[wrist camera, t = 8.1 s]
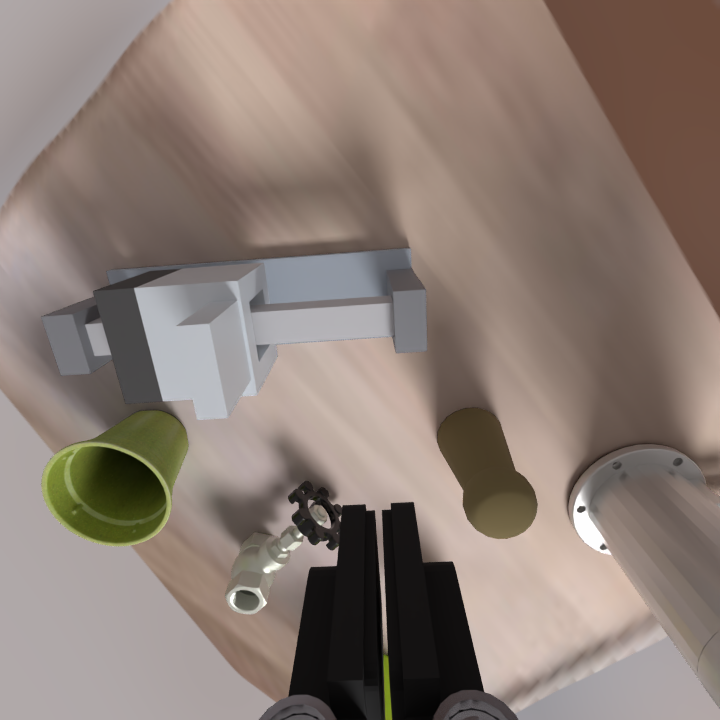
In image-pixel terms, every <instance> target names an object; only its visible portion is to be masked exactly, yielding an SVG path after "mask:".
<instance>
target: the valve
mask: <svg viewBox="0 0 720 720" xmlns="http://www.w3.org/2000/svg"><path fill="white" fill-rule="evenodd" d="M302 491H304V494H303V492H302ZM328 497H329V493H328V491H327V490H326V489H325V488H323V487H321V488H320V489H319V490H318V491H317V492H315V491H314V490H313V486H312V484H311V483H310V482H309V481H304V482H303V483H302V484H301V485H300V486H299V487H298V489H295V490H294V491H293V492H292V493H291V494H290V495H289V496H288V499H289V501H290V503H291V504H293V503H294V502H295V501H296V502H298V503H299V509H298V510H297V511H296V512H295V513H294V514H293V515H292V521H293V522H294V523H295V524H296V525H297V526H289V527H288V528H287V529H286V530H285V531H283V532H282V533H281V538H279V537H277V536H272V535H267V534H262V533H257V532H254V533H253V534H252V535H251V536H250V537H249V538H247V539H246V540H245V541H244V542H243V544H242V547H241V550H240V553H239V555H238V557H237V558H236V560H235V561H234V564H233V566H232V571H231V579H232V580H231V581H230V582H229V584H228V587H227V590H226V593H225V598H226V600H227V602H228V605H229V606H230V608H231V609H232V610H233V611H235V612H238V613H242V614H255V613H256V612H258V611H259V610H260V609H261V608H262V607H264V605H265V604H266V603H267V600H268V596H269V592H270V588H269V587H270V586H271V584H272V583H273V581H274V578H275V575H276V570H280V569H281V568H282V567H284V566H285V565H286V564H287V563H288V562H289V560H290V550H294V549H296V548H297V547H298V546H299V545H300V544H301V543H302V542H303V535H304V536H306V537H308V540H309V542H310V543H311V544H312V545H317V544H318V543H319V542H320V541H326V540H329V543H328V544H327V545H326V546H327V548H328V549H330V550H334V549H335V548H337V547H338V546H339V538H340V526H341V522H340V521H339V518H338V517H340V516H341V515H342V507H341V506H340V505H338V504H335V505H334V506H333V505H332V504H331V503H330V502H329V501H328ZM308 500H314V502H313V503H312V505H311V506H310V507H309V509H308ZM320 505H321V506H322V507H323V508H322V507H321V506H320ZM325 510H326V511H325ZM326 512H327V513H328V515H329V517H330V521H331V528H330V529H327V528H324V527H322V525H323V524H324V523H325V522H326V521H327V513H326ZM337 533H338V534H337Z"/></svg>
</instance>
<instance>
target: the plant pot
mask: <svg viewBox="0 0 720 720" xmlns="http://www.w3.org/2000/svg"><path fill="white" fill-rule="evenodd" d="M187 450H188V439H187V434H186V430H185V428H184V427H183V425H182V424H181V423H180V422H179V421H178V420H177V419H176V418H174V417H173V416H171V415H170V414H168V413H165V412H162V411H158V410H153V411H139V412H136V413H134V414H133V415H131V416H129V417H128V418H126V419H125V420H123V421H122V422H120V423H119V424H117V425H115V426H114V427H112V428H111V429H109V430H107V431H106V432H104V433H103V434H101V435H99V436H98V437H96V438H94V439H91V440H87V441H82V442H78V443H74V444H71V445H69V446H67V447H65V448H63V449H62V450H60V451H59V452H57V453H56V454H55V455H54V456H53V457H52V458H51V459H50V461H49V462H48V463H47V465H46V467H45V469H44V471H43V475H42V483H41V484H42V485H41V486H42V493H43V497H44V500H45V502H46V505H47V506H48V508H49V510H50V512H51V513H52V514H53V515H54V517H55V518H56V519H57V520H58V521H59V522H60V523H61V524H62V525H63V526H64V527H65V528H67V529H68V530H69V531H71V532H72V533H74V534H76V535H78V536H79V537H82V538H84V539H86V540H88V541H91V542H95V543H98V544H102V545H108V546H129V545H134V544H138V543H141V542H144V541H146V540H148V539H150V538H152V537H153V536H155V535H156V534H157V533H158V532H159V531H160V530H161V529H162V528H163V527H164V525H165V524H166V522H167V520H168V518H169V516H170V512H171V507H172V488H173V486H174V483H175V480H176V478H177V475H178V473H179V470H180V468H181V465H182V463H183V460H184V458H185V456H186V453H187Z"/></svg>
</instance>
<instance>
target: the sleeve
mask: <svg viewBox="0 0 720 720" xmlns="http://www.w3.org/2000/svg"><path fill="white" fill-rule="evenodd" d="M134 290H135V294H136V298H137V302H138V306H139V310H140V314H141V318H142V322H143V325H144V329H145V333H146V337H147V341H148V345H149V349H150V353H151V357H152V361H153V365H154V368H155V372H156V376H157V380H158V384H159V388H160V392H161V396H162V400H163V401H178V400H193V404H194V408H195V413H196V417H197V420H205V419H221V418H228V417H229V416H230V414H231V412H232V411H233V409H234V407H235V406H236V404H237V402H238V401H239V399H240V397H241V396H255V395H258V393H259V391H260V389H261V387H262V385H263V383H264V382H265V380H266V378H267V376H268V374H269V372H270V370H271V368H272V366H273V364H274V362H275V360H276V359H277V357H278V353H277V347H276V344H265V345H256V341H255V335H254V329H253V323H252V317H251V311H250V305H262V304H270V299H269V292H268V285H267V279H266V272H265V265H264V263H252V264H238V265H225V266H211V267H197V268H184V269H180V270H178V271H175V272H173V273H170V274H168V275H165V276H163V277H160V278H158V279H155V280H153V281H151V282H148V283H146V284H143V285H141V286H138V287H136V288H134Z"/></svg>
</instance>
